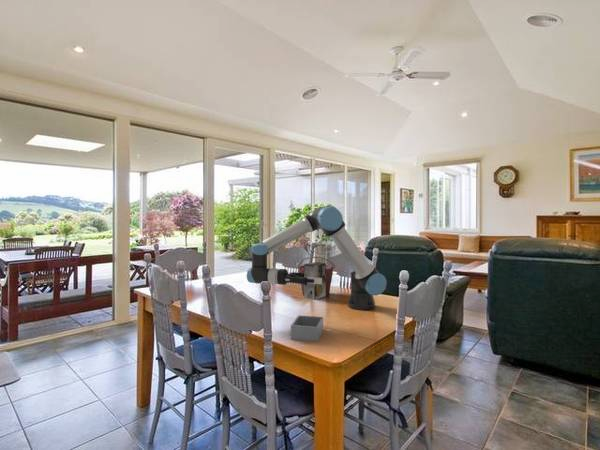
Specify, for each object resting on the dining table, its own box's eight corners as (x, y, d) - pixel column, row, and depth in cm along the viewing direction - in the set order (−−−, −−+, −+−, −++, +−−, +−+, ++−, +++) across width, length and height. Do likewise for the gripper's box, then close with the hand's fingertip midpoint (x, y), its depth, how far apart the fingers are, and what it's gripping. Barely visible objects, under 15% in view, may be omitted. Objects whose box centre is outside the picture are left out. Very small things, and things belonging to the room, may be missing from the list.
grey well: (323, 329, 162) (323, 317, 161) (317, 341, 147) (317, 327, 147) (298, 328, 164) (298, 315, 164) (290, 339, 150) (290, 325, 150)
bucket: (292, 298, 221) (292, 258, 220) (302, 290, 242) (302, 254, 241) (331, 300, 214) (331, 259, 213) (338, 292, 235) (338, 255, 234)
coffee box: (315, 294, 172) (315, 261, 172) (326, 296, 168) (326, 263, 167) (303, 298, 165) (303, 263, 165) (314, 300, 161) (314, 265, 160)
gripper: (285, 279, 182) (327, 281, 177) (271, 289, 159) (319, 292, 154) (285, 265, 181) (327, 267, 176) (271, 272, 159) (319, 275, 154)
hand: (323, 278), depth 165 cm, fingers closed on coffee box, 10 cm apart
